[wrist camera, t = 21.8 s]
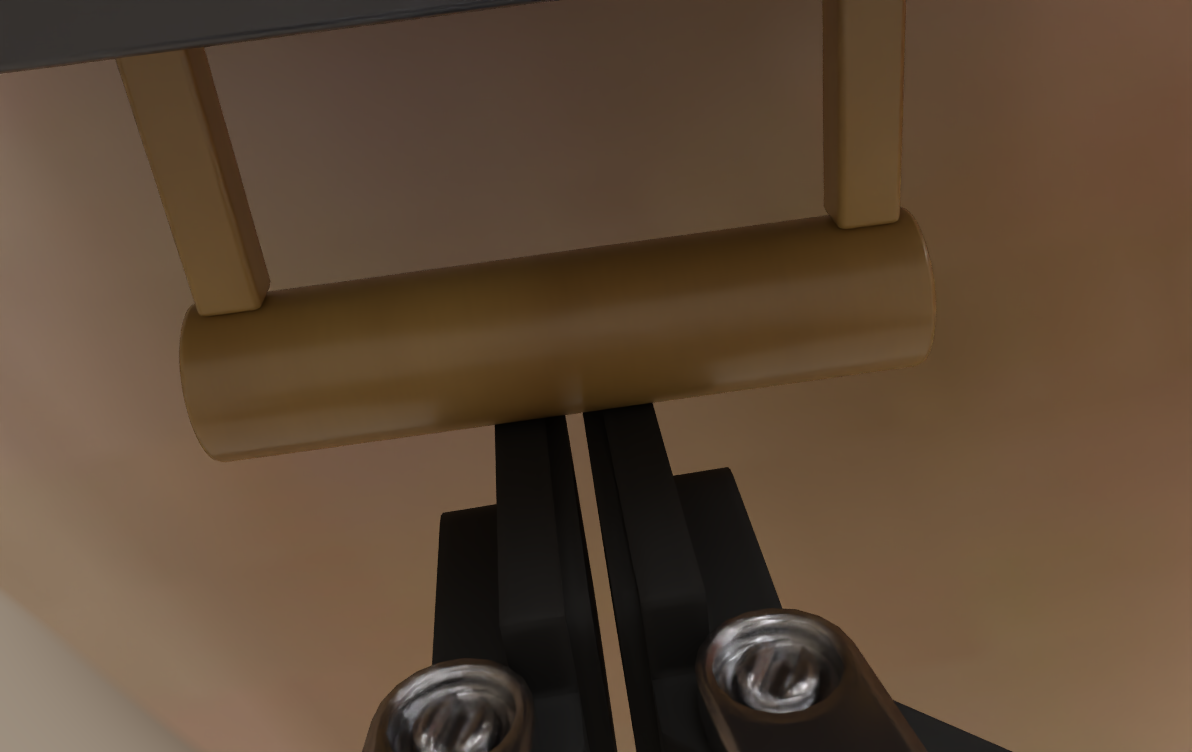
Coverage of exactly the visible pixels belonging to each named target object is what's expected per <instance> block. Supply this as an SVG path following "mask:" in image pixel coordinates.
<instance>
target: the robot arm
mask: <svg viewBox="0 0 1192 752" xmlns="http://www.w3.org/2000/svg"><path fill="white" fill-rule="evenodd" d="M583 418H584V424H585V430H586V437H587V443H588V450H589V456H590V463H591V469H592V475H593V482H594V488H595V495H596V501H597V508H598V514H599V520H600V527H601V533H602V540H603V546H604V553H605V559H606V565H607V572H608V578H609V585H610V591H611V597H612V603H613V610H614V616H615V622H616V628H617V634H618V640H619V647H620V653H621V659H622V665H623V671H624V677H625V684H626V690H627V696H628V702H629V708H630V715H631V721H632V727H633V733H634V739H635V745H636V752H1012V751H1009V750H1007V749H1005V748H1002V747H1000V746H998V745H995V744H993V743H991V742H989V741H986V740H984V739H982V738H979V737H977V736H975V735H972V734H970V733H968V732H965V731H963V730H961V729H959V728H956V727H954V726H952V725H949V724H947V723H945V722H942V721H940V720H938V719H935V718H933V717H931V716H929V715H926V714H924V713H922V712H919V711H917V710H915V709H912V708H910V707H908V706H905V705H903V704H901V703H899V702H896V701H894V700H892V698H891V697H890V695H889V694H888V692H887V691H886V689H885V688H884V686H883V685H882V683H881V682H880V680H879V679H878V677H877V676H876V674H875V673H874V671H873V670H872V669H871V667H870V666H869V664H868V663H867V661H866V660H865V658H864V657H863V655H862V654H861V652H860V651H859V649H858V648H857V646H856V645H855V643H854V642H853V641H852V640H851V639H850V638H849V637H848V636H847V635H846V634H845V633H844V632H843V631H842V630H841V629H840V627H838V626H836V625H834V624H833V623H831V622H829V621H827V620H826V619H824V618H822V617H820V616H818V615H814V614H810V613H807V612H803V611H800V610H796V609H782V606H781V604H780V601H779V598H778V596H777V593H776V590H775V587H774V585H773V582H772V579H771V577H770V574H769V571H768V568H767V566H766V563H765V560H764V558H763V555H762V552H761V549H760V547H759V544H758V541H757V539H756V536H755V533H754V531H753V528H752V525H751V522H750V520H749V517H748V514H747V512H746V509H745V506H744V503H743V501H742V498H741V495H740V493H739V490H738V487H737V484H736V482H735V479H734V476H733V474H732V472H731V470H730V469H729V468H728V467H725V468H719V469H713V470H706V471H700V472H694V473H688V474H681V475H675V476H673V474H672V471H671V467H670V464H669V460H668V457H667V453H666V449H665V446H664V442H663V439H662V435H661V432H660V428H659V425H658V421H657V417H656V414H655V410H654V407H653V403H648V404H641V405H633V406H626V407H619V408H612V409H605V410H597V411H590V412H583ZM495 456H496V499H497V504H495V505H489V506H482V507H476V508H470V509H464V510H457V511H451V512H445V513H443V514H442V515H441V519H440V531H439V549H438V567H437V585H436V604H435V622H434V640H433V658H432V666H430V667H427V668H425V669H422V670H420V671H417V672H416V673H414V674H413V675H411V676H410V677H408V678H407V679H405V680H404V681H402V682H401V683H399V684H398V685H396V687H395V688H394V689H393V690H392V691H391V692H390V693H389V694H388V695H387V696H386V697H385V698H384V699H383V701H382V702H381V703H380V705H379V707H378V709H377V711H376V713H375V715H374V717H373V719H372V721H371V724H370V727H369V731H368V734H367V737H366V740H365V744H364V747H363V750H362V752H617V746H616V739H615V732H614V725H613V718H612V711H611V704H610V697H609V690H608V683H607V676H606V669H605V662H604V655H603V648H602V641H601V634H600V627H599V620H598V613H597V606H596V600H595V593H594V587H593V581H592V574H591V568H590V562H589V556H588V550H587V544H586V538H585V532H584V526H583V520H582V514H581V508H580V502H579V496H578V490H577V483H576V477H575V471H574V465H573V459H572V453H571V447H570V441H569V435H568V429H567V423H566V417H565V415H561V416H554V417H547V418H540V419H533V420H526V421H518V422H511V423H504V424H497V425H495Z"/></svg>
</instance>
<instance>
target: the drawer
mask: <svg viewBox="0 0 1192 752" xmlns="http://www.w3.org/2000/svg"><path fill="white" fill-rule="evenodd" d="M549 1H557V0H0V74H3V73H11V72H18V71H26V70H34V69H41V68H49V67H56V66H64V65H71V64H79V63H87V62H94V61H102V60H109V59H115V60H116V63H117V66H118V69H119V72H120V75H121V78H122V81H123V84H124V87H125V90H126V93H127V96H128V99H129V103H130V106H131V109H132V112H133V115H134V118H135V121H136V124H137V127H138V130H139V133H140V136H141V139H142V142H143V146H144V149H145V152H146V155H147V158H148V161H149V164H150V167H151V170H152V173H153V176H154V179H155V182H156V185H157V189H158V192H159V195H160V198H161V201H162V204H163V207H164V210H165V213H166V216H167V219H168V222H169V225H170V228H171V232H172V235H173V238H174V241H175V244H176V247H177V250H178V253H179V256H180V259H181V262H182V265H183V268H184V271H185V275H186V278H187V281H188V284H189V287H190V290H191V293H192V296H193V299H194V302H195V304H193V305H192V306H191V307H190V308H189V309H188V310H187V312H186V314H185V317H184V320H183V323H182V328H181V335H180V348H179V363H180V376H181V384H182V390H183V396H184V400H185V405H186V408H187V412H188V415H189V419H190V422H191V424H192V427H193V430H194V432H195V434H196V437H197V439H198V441H199V443H200V444H201V446H202V448H203V449H204V450H205V452H206V453H207V454H208V455H209V456H210V457H211V458H212V459H214V460H217V461H220V462H231V461H238V460H245V459H252V458H260V457H267V456H274V455H281V454H288V453H296V452H303V451H310V450H317V449H324V448H331V447H339V446H346V445H353V444H360V443H367V442H375V441H382V440H389V439H396V438H403V437H411V436H418V435H425V434H432V433H439V432H446V431H454V430H461V429H468V428H475V427H482V426H490V425H497V424H504V423H511V422H518V421H526V420H533V419H540V418H547V417H554V416H561V415H569V414H576V413H583V412H590V411H597V410H605V409H612V408H619V407H626V406H633V405H641V404H648V403H655V402H662V401H669V400H677V399H684V398H691V397H698V396H705V395H712V394H720V393H727V392H734V391H741V390H748V389H756V388H763V387H770V386H777V385H784V384H792V383H799V382H806V381H813V380H820V379H827V378H835V377H842V376H849V375H856V374H863V373H871V372H878V371H885V370H892V369H899V368H907V367H914V366H917V365H919V364H921V363H922V362H924V361H925V360H926V358H927V357H928V355H929V353H930V350H931V347H932V344H933V339H934V333H935V323H936V294H935V284H934V276H933V270H932V265H931V260H930V256H929V252H928V249H927V246H926V242H925V240H924V237H923V234H922V232H921V229H920V227H919V225H918V223H917V221H916V220H915V218H914V217H913V215H912V214H911V213H910V212H909V211H908V210H907V209H905V208H902V207H900V191H901V157H902V122H903V88H904V53H905V19H906V0H822V25H823V157H824V207H825V209H826V211H827V213H828V214H829V215H826V216H819V217H811V218H804V219H797V220H789V221H782V222H775V223H767V224H760V225H753V226H745V227H738V228H731V229H723V230H716V231H709V232H701V233H694V234H687V235H679V236H672V237H665V238H657V239H650V240H643V241H635V242H628V243H621V244H613V245H606V246H599V247H591V248H584V249H577V250H569V251H562V252H555V253H547V254H540V255H533V256H525V257H518V258H511V259H503V260H496V261H489V262H481V263H474V264H466V265H459V266H452V267H444V268H437V269H430V270H422V271H415V272H408V273H400V274H393V275H386V276H378V277H371V278H364V279H356V280H349V281H342V282H334V283H327V284H320V285H312V286H305V287H298V288H290V289H283V290H276V291H268V289H269V287H270V282H271V281H270V278H269V274H268V271H267V267H266V264H265V260H264V257H263V253H262V250H261V246H260V243H259V239H258V236H257V232H256V229H255V225H254V222H253V218H252V215H251V211H250V208H249V204H248V201H247V197H246V193H245V190H244V186H243V183H242V179H241V176H240V172H239V169H238V165H237V162H236V158H235V155H234V151H233V148H232V144H231V141H230V137H229V134H228V130H227V127H226V123H225V120H224V116H223V113H222V109H221V106H220V102H219V99H218V95H217V91H216V88H215V84H214V81H213V77H212V74H211V70H210V67H209V63H208V60H207V56H206V53H205V49H204V47H208V46H215V45H223V44H231V43H238V42H246V41H253V40H261V39H269V38H276V37H284V36H291V35H299V34H306V33H314V32H322V31H329V30H337V29H344V28H352V27H360V26H367V25H375V24H382V23H390V22H397V21H405V20H413V19H420V18H428V17H435V16H443V15H450V14H458V13H466V12H473V11H481V10H488V9H496V8H504V7H511V6H519V5H526V4H534V3H541V2H549Z"/></svg>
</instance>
